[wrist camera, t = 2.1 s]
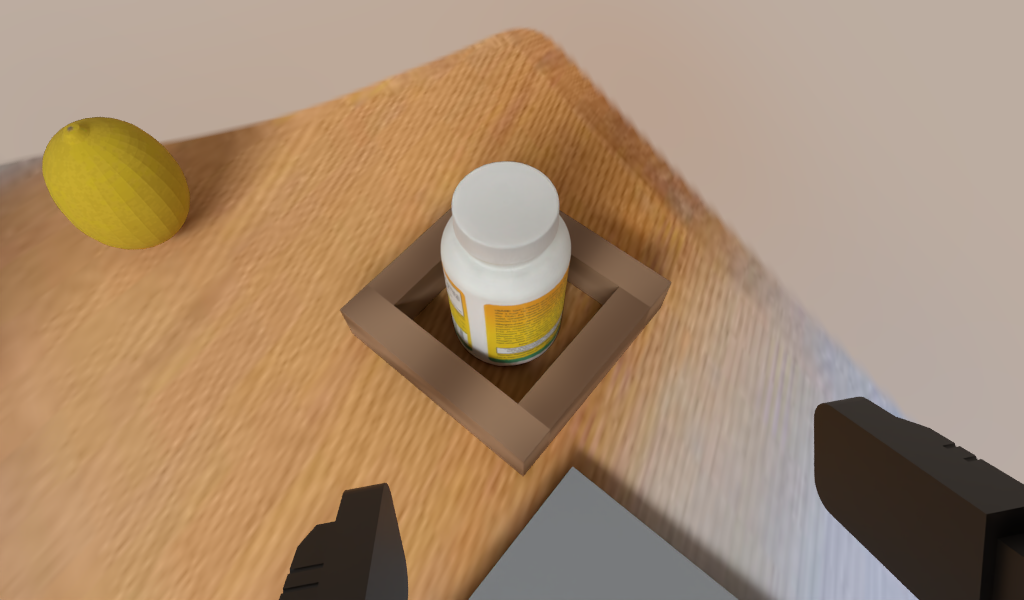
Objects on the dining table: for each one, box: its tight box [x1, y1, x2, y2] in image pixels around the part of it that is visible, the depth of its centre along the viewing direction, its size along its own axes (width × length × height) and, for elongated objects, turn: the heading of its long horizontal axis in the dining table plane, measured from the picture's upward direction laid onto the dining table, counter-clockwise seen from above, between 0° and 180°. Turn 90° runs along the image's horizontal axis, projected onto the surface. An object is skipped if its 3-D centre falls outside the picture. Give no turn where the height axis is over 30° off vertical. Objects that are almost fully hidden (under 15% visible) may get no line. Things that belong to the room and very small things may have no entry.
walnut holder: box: [340, 208, 671, 476], centre depth 30 cm, size 11×11×2 cm
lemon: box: [42, 117, 190, 250], centre depth 30 cm, size 6×6×8 cm
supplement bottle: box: [441, 161, 571, 366], centre depth 27 cm, size 5×5×10 cm
